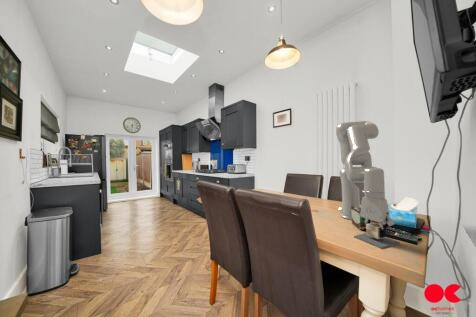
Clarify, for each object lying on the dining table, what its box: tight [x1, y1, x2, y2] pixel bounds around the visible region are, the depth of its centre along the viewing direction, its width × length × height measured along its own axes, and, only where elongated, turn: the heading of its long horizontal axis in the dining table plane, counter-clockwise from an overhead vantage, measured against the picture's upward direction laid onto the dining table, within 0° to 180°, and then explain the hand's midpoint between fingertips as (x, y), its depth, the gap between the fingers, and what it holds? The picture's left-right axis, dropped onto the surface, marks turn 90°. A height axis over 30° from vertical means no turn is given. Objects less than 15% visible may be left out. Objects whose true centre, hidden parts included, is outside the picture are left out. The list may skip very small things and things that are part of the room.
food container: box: [351, 206, 366, 231], centre depth 97 cm, size 12×6×10 cm, turn 168°
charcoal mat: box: [353, 232, 401, 250], centre depth 82 cm, size 12×12×1 cm
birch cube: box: [365, 221, 384, 239], centre depth 82 cm, size 5×5×5 cm
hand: (375, 234), depth 82 cm, fingers closed on birch cube, 5 cm apart
